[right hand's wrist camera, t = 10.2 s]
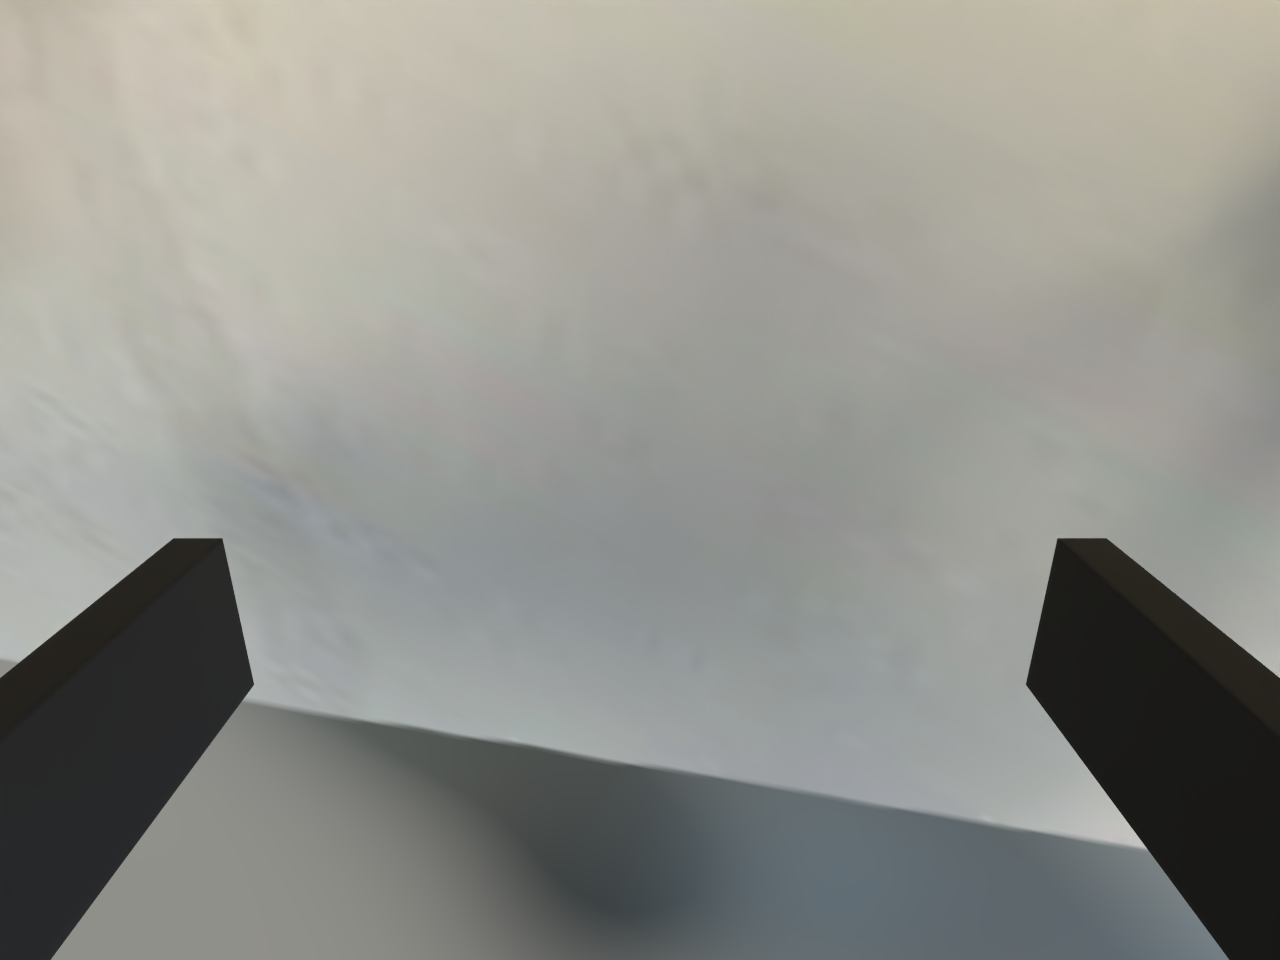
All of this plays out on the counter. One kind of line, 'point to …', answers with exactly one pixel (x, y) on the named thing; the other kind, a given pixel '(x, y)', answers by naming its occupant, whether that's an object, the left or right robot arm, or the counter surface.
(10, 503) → the counter surface
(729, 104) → the counter surface
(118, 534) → the counter surface
